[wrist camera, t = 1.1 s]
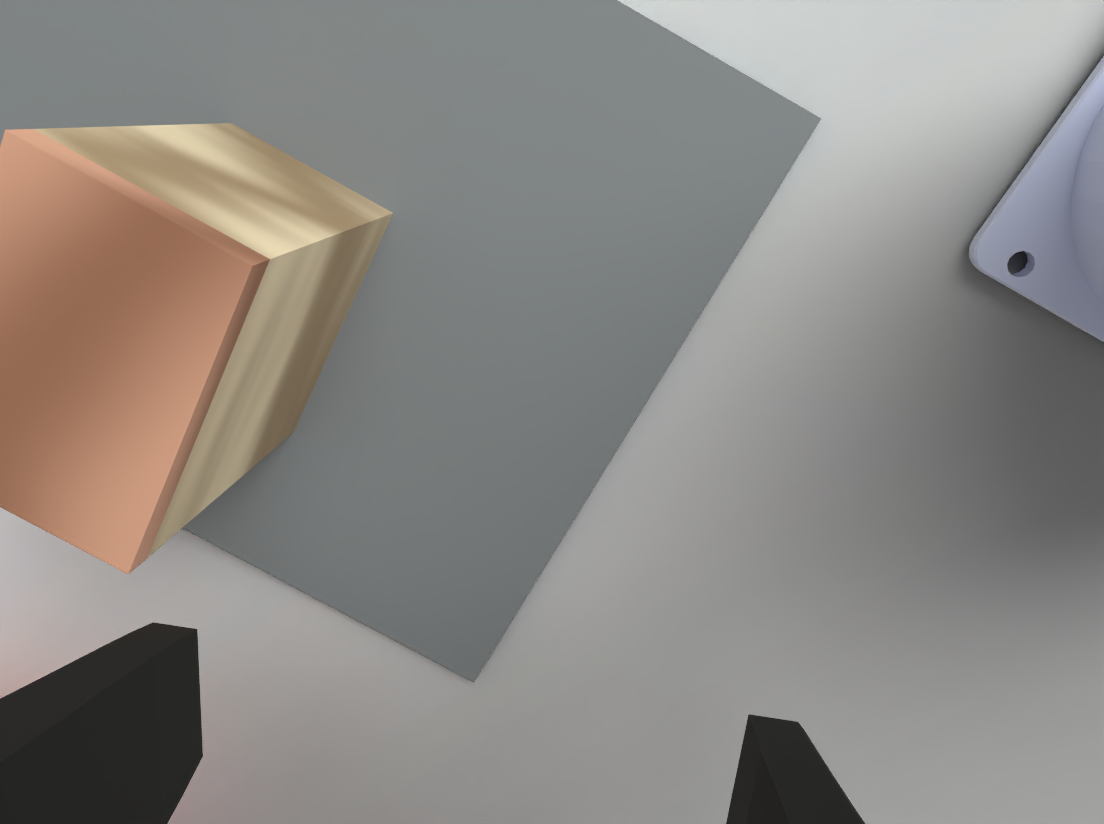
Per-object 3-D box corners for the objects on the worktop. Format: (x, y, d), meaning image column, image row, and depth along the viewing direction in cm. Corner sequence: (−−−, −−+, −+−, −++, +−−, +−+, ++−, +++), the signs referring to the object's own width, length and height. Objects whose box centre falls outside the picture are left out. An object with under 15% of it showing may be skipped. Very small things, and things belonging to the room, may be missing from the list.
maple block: (393, 213, 19) (253, 265, 13) (293, 432, 22) (128, 574, 15) (231, 122, 19) (5, 130, 13) (146, 352, 21) (-87, 461, 15)
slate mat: (819, 118, 18) (821, 118, 18) (475, 675, 24) (473, 682, 23) (-70, -396, 17) (-83, -405, 17) (-212, 310, 23) (-224, 312, 22)
